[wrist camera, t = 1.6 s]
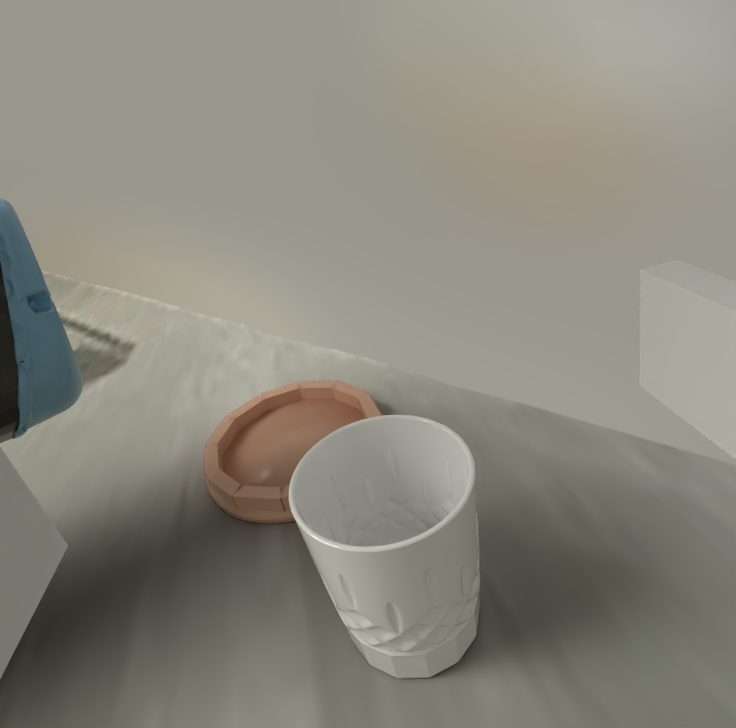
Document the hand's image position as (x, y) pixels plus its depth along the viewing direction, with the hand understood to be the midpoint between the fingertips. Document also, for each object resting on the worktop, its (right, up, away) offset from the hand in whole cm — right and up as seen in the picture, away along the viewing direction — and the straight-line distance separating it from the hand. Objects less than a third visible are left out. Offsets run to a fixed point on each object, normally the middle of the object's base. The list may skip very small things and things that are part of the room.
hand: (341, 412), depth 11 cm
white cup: (+3, -12, +16) cm, 20 cm away
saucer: (-5, -6, +29) cm, 30 cm away
